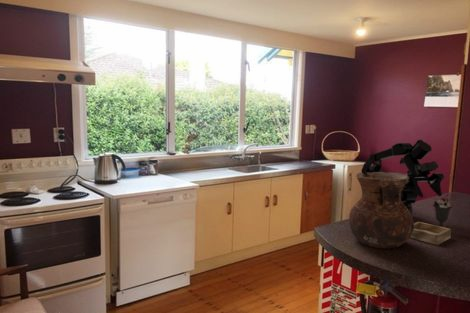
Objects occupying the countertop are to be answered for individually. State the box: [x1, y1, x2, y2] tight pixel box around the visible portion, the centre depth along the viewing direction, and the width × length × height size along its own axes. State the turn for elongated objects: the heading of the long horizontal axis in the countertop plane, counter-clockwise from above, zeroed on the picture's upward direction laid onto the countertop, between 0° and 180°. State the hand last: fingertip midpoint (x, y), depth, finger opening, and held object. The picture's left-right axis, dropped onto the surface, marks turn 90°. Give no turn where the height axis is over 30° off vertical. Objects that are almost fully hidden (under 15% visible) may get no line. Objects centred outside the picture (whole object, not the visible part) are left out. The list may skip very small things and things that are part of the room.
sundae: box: [432, 193, 453, 227], centre depth 145 cm, size 7×7×15 cm
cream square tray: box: [409, 221, 452, 246], centre depth 138 cm, size 12×12×4 cm
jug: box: [348, 171, 414, 249], centre depth 130 cm, size 22×21×25 cm
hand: (431, 196), depth 150 cm, fingers open, 9 cm apart
